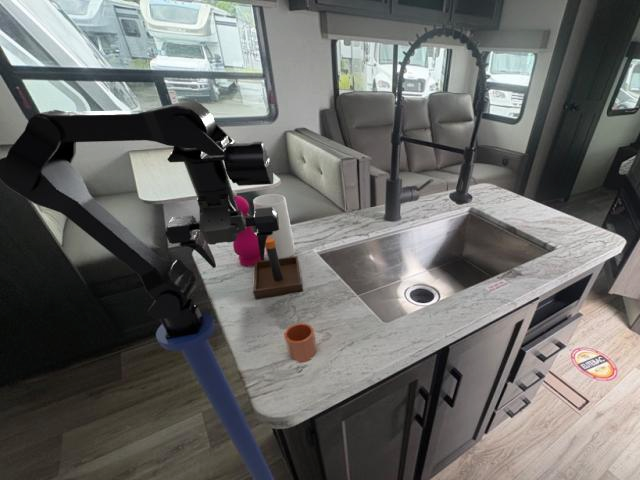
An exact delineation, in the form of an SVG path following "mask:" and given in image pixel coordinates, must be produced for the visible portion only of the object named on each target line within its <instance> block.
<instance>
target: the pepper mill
mask: <svg viewBox="0 0 640 480" xmlns="http://www.w3.org/2000/svg"><path fill="white" fill-rule="evenodd" d="M232 191H233V195H234V198H235V201H236V204H237V207H238V211H241V212H242V213H243V215H244V216H250V214H249V211H250V204H249V202H248V201H247V199H245V197H243V196H240V195H237V192H236V191H235V190H233V189H232ZM236 235H237V239H236V240H235V241H233V242H232V247H233V251H234V253H235V254H236V255H238V260H239V263H240V265H241V266H244V267H255V261H262V260H261V257H260V251H259V244H258V239H257V233H255V232H254V230H253V228H252V226H248V227H246V231H241V232H240V233H239V234H236Z"/></svg>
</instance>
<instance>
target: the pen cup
mask: <svg viewBox="0 0 640 480" xmlns="http://www.w3.org/2000/svg"><path fill="white" fill-rule="evenodd" d="M315 335H316V333H315V329H314V327H313V326H312V325H311V324H308V323H306V322H305V323H304V322H299V323H295V324H292V325H290V326H288V327H287V328H286V329H285V331H284V333H283V336H284V337H283V338H284V341H285V344H286V349H287V353H288V356H289V358H290V359H292V361H294V362H295V361H296V363H298V364H302V363H307V362H310V361H312V360H313V358H314V357H315V356H316V354H317V352H318V345H317V340H316V336H315Z"/></svg>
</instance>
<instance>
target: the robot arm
mask: <svg viewBox="0 0 640 480" xmlns="http://www.w3.org/2000/svg"><path fill="white" fill-rule="evenodd" d="M135 141H140V142H141V141H146V142H147V141H148V142H155V143H158V144H161V145H164V146H169V147H173V148H172V152H171V153H170V155H169V156H168V157H167V161H168V162H169V163H183V164H184V167H185V169H186V172H187V174H188V177H189V180H190V181H191V184H192V187H193V190H194V192H195V195H196V201H197V205H198V207H199V208H198V209H199V220H198V221H197V219H196V217H195V216H194V215H183V216H173V217H171V219H170V220H169V222H168V224H167V225H166V227H165V229H164V235H165V238H166V239H167V241H168V243H169V244H172V245H173V244H174V245H175V244H178V245H179V246H180V247H187V248H191V249H193V250H194V251H195V252H196V253H198V254H199V255H200V257H202V258H203V260H205V261H206V262H207V263H208V264H209V265H210V266H211V267H212V269H214V268H215V269H216V267H217V264H216V260H215V257H214V255H213V252H212V250H211V248H210V245H211V246H212V245H216V244H220V243H221V244H222V243H233V241H235V240H236V239H237V235H236V234H239V233H240V232H241V231H246V227H248V226H251V227H255V228H256V236H257V239H258V244H259V251H260V257H261V260H262V261H264V260H265V254H266V250H265V243H266V239H267V237H268V236H269V235H272V234H273V231H277V230H279V219H278V214H277V211H276V209H274V208H273V207H268V208H259V209H255V208H254V212H253V215H249V216H244V215H243V213H242V212H241V211H238V207H237V204H236V201H235V198H234V195H233V191H234V190H233V189H232V185H231V183H232V184H236V185H237V186H238V187H244V186H264V185H267V186H268V185H273V184H274V169H273V164H272V159H271V158H270V157H269V154H268V151H267V150H266V147H265V145H264V141H261V140H260V141H252V142H238V143H237V142H236V143H235V140H234V139H233V138H232V137H231V136H230V135H229V134H228V133H227V132H225V130H224V129H222V128H221V127H220V126H219V124H217V123H216V120H215V118H214V116H213V114H212V113H211V112H210V110H209V109H208V108H206V107H205V106H204V105H203V104H202V103H200V102H198V101H194V100H185V101H182V102H176V103H172V104H168V105H162V106H159V107H155V108H151V109H146V110H93V111H89V110H88V111H86V110H85V111H84V110H83V111H82V110H81V111H64V110H58V109H52V110H48V111H43V112H38V113H34V114H32V115H31V116H30V117H29V119H28V120H27V123H26V126H25V128H24V131H23V132H22V133H21V134H20V135H19V137H18V138H17V140H16V141H14V143H13V144H12V146H11V147H10V148H9V150H8V152H7V154H6V156H5V157H1V158H0V181H1V182H2V183H3V184H4V185H5V186H7V187H8V188H9V189H10V190H12V191H14V192H15V193H17V194H18V195H20V196H22V197H23V198H24V199H26V200H28V201H29V202H31V203H33V204H34V205H37V206H40V207H43V208H46V209H49V210H52V211H55V212H57V213H59V214H61V215H64V216H65V217H66V218H67V219H68V220H70V221H71V222H72V223H73V224H74V225H76V226H77V227H78V228H80V229H81V230H82V231H83V232H85V233H86V235H88V236H90V237H91V238H92V239H93V240H94V241H96V242H97V243H98V244H100V246H102V247H103V248H104V249H106V250H107V251H108V252H109V253H110V254H112V255H113V257H115V258H117V259H118V260H119V261H120V262H122V264H124V265H126V267H128V268H129V269H130V270H132V271H133V272H134V273H136V274H137V275H138V277H139V278H140V280H141V282H142V284H143V286H144V287H143V288H144V289H145V291H146V293H147V294H148V295H149V296H150V297H151V298H152V299H153V300H154V301H153V303H152V304H151V306H150V307H149V309H148V310H147V312H146V313H147V315H148V316H150V317H151V318H152V319H153V320H159V322H160V323H161V325H162V324H163V326H164V328H165V330H166V331H167V332H166V335H165V338H166V339H170V338H176V337H181V336H187V335H193V334H197V333H199V330H200V326H201V325H202V321H203V315H202V314H201V312H200V311H201V310H200V309H199V306H198V305H197V304H194V301H193V299H192V298H191V296H192V294H193V293H194V290H195V289H196V287H197V280H198V279H197V277H196V276H195V275H194V274H195V271H193V270H191V269H189V268H188V267H187V266H186V265H185V263H184V262H183V261H182V260H180V259H175V261H171V260H167V259H164V258H162V257H160V255H158V254H157V253H156V252H155V251H153V250H152V249H151V248H150V247H149V246H148V245H147V244H146V243H144V242H143V241H142V240H141V239H140V238H139V237H138V236H137V235H136V234H134V233H133V232H132V231H131V230H130V229H128V227H126V226H125V225H124V224H123V223H122V222H120V220H119V219H117V218H116V217H115V216H114V215H113V214H111V212H110V211H108V210H107V209H106V208H105V207H104V206H103V205H102V204H100V203H99V202H98V201H97V200H96V199H95V198H94V197H93V196H92V195H91V194H90V191H89V189H88V187H87V185H86V183H85V180H84V178H83V177H82V175H81V174H80V173H79V172H78V171H77V169H76V168H75V167H74V166H73V165H72V163H73V160H74V158H75V156H76V154H77V143H99V142H135ZM230 181H231V183H230ZM232 190H233V191H232Z"/></svg>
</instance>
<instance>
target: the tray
mask: <svg viewBox="0 0 640 480" xmlns="http://www.w3.org/2000/svg"><path fill="white" fill-rule="evenodd" d="M279 264H280V268H281V272H282V276H283V279H282V280H280V281H275V280H274V277H273V273H272V269H271V266H270V262H269V259H264V261H255V266H253V267H254V270H253V287H252V293H253V296H254V299H255V300H260V299H261V300H262V299H266V298H273V297H279V296H286V295H291V294H297V293H303V292H304V288H303V281H302V274H301V266H300V261H299V256H298V255H295V256H290V257H287V258H279Z"/></svg>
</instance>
